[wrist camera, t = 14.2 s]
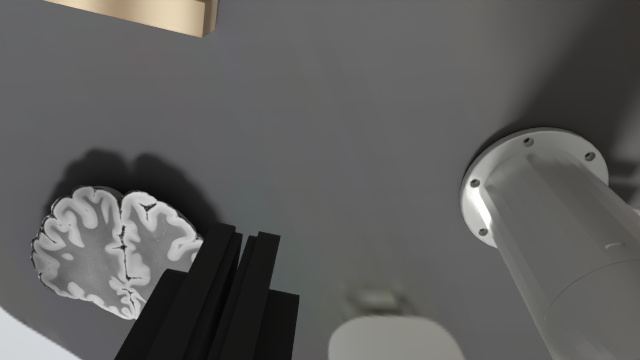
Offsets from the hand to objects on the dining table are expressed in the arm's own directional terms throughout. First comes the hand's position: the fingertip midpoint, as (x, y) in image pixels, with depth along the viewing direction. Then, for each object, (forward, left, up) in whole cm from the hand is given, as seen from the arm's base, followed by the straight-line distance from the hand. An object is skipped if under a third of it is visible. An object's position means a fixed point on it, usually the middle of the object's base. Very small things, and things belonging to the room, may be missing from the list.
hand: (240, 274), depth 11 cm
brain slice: (+14, +24, -28) cm, 39 cm away
